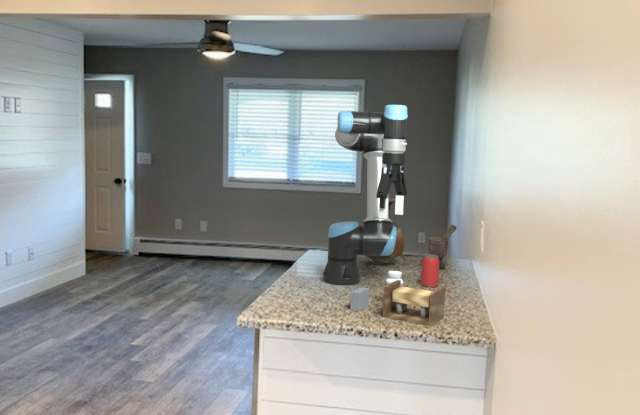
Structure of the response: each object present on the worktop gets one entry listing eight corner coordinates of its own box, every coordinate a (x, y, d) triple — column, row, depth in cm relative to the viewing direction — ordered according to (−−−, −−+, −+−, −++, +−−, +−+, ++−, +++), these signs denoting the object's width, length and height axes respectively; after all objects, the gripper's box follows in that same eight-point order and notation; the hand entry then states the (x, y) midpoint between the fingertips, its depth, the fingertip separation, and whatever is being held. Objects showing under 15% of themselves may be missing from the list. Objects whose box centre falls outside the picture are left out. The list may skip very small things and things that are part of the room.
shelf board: (435, 302, 192) (436, 291, 191) (428, 307, 186) (429, 296, 185) (400, 296, 197) (401, 286, 197) (392, 301, 191) (392, 290, 191)
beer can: (437, 288, 232) (439, 257, 230) (420, 287, 233) (422, 256, 232) (438, 284, 238) (439, 254, 237) (421, 283, 239) (422, 253, 238)
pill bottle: (397, 307, 203) (399, 275, 201) (381, 304, 206) (382, 272, 205) (405, 303, 208) (406, 271, 207) (389, 300, 211) (390, 269, 210)
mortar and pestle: (451, 266, 274) (454, 222, 272) (455, 270, 266) (457, 225, 264) (426, 265, 275) (428, 221, 273) (428, 269, 267) (431, 224, 264)
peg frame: (382, 317, 191) (384, 286, 190) (396, 309, 201) (397, 279, 200) (432, 326, 183) (433, 294, 182) (443, 317, 193) (445, 287, 192)
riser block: (350, 309, 199) (350, 291, 198) (360, 304, 205) (361, 287, 205) (358, 311, 197) (359, 293, 196) (368, 305, 204) (369, 288, 203)
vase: (367, 257, 288) (370, 195, 284) (407, 261, 281) (410, 197, 278) (353, 266, 266) (356, 199, 263) (396, 271, 260) (400, 202, 257)
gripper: (389, 153, 185) (386, 221, 188) (418, 152, 207) (415, 213, 209) (367, 152, 189) (365, 219, 192) (397, 151, 211) (395, 212, 213)
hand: (391, 216), depth 200 cm, fingers open, 13 cm apart
